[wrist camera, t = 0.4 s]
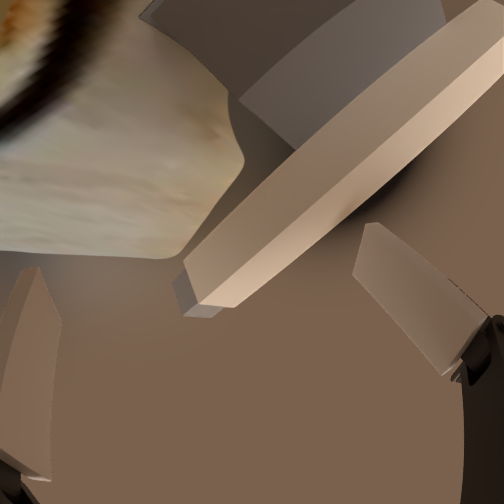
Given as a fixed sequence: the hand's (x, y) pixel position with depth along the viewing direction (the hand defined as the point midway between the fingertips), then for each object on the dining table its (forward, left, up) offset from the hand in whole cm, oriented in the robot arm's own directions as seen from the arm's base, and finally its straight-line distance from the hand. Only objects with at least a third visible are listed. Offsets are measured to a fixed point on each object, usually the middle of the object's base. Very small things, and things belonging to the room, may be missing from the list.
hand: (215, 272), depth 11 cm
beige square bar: (+5, +9, -5) cm, 11 cm away
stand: (+5, +11, -37) cm, 38 cm away
